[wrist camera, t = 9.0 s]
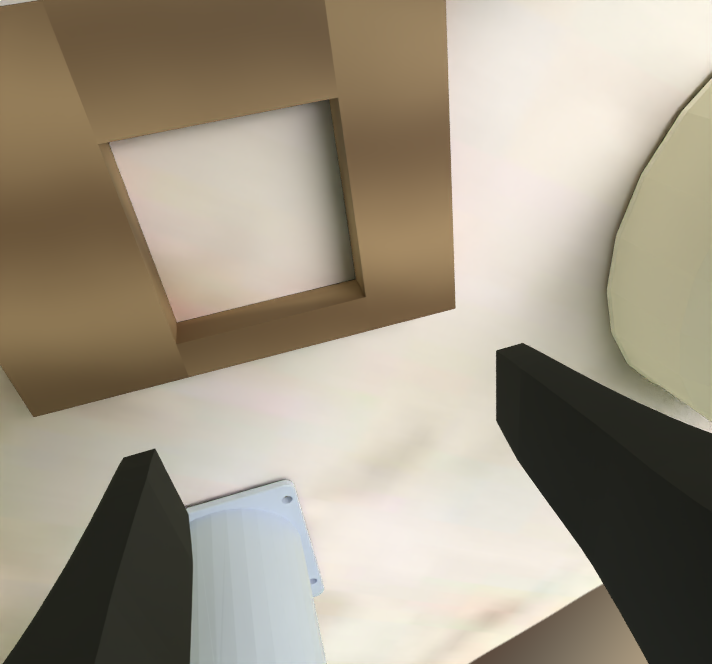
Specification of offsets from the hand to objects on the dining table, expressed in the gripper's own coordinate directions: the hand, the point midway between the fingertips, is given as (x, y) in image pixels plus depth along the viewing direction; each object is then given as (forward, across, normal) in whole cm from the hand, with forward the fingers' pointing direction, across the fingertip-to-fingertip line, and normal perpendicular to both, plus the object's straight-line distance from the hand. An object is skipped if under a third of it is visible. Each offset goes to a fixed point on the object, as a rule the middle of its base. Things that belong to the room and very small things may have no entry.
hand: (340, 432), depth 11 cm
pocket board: (+10, +2, -2) cm, 11 cm away
